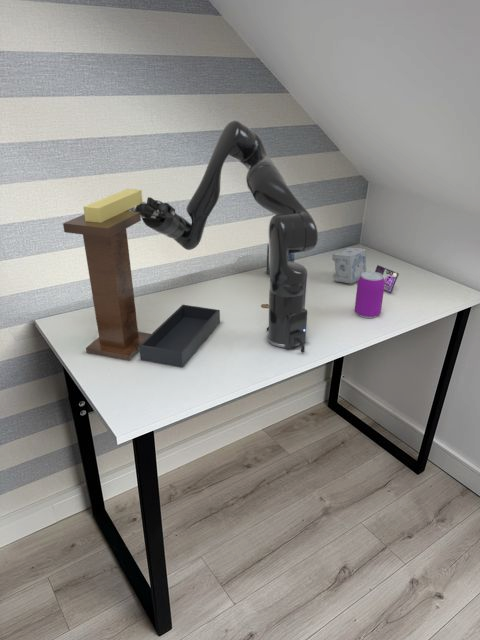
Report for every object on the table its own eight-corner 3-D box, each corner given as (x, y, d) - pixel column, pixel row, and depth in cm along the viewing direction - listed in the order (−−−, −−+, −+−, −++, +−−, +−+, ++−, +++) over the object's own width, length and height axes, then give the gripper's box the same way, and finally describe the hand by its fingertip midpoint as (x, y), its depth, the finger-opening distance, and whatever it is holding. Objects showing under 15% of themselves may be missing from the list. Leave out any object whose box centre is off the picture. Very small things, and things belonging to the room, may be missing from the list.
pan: (183, 317, 146) (182, 304, 144) (220, 323, 144) (219, 309, 142) (140, 360, 125) (138, 345, 123) (182, 367, 123) (181, 352, 121)
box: (275, 278, 174) (276, 248, 169) (266, 273, 178) (266, 243, 173) (293, 274, 178) (295, 244, 173) (284, 269, 182) (285, 239, 177)
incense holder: (345, 273, 180) (348, 244, 174) (366, 279, 175) (369, 249, 170) (329, 280, 173) (332, 250, 168) (350, 287, 168) (354, 256, 163)
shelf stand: (114, 330, 139) (96, 207, 122) (154, 337, 136) (142, 212, 120) (84, 354, 127) (60, 223, 111) (127, 362, 124) (109, 228, 108)
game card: (376, 264, 168) (396, 273, 162) (385, 266, 171) (406, 275, 165) (368, 284, 170) (389, 293, 164) (378, 285, 173) (398, 294, 167)
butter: (129, 201, 128) (127, 188, 127) (142, 203, 127) (141, 189, 126) (85, 221, 112) (83, 206, 111) (100, 223, 111) (98, 208, 110)
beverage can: (377, 321, 146) (382, 282, 141) (351, 316, 149) (355, 277, 143) (383, 311, 153) (388, 273, 147) (357, 306, 155) (362, 268, 149)
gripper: (140, 202, 144) (109, 182, 128) (187, 207, 140) (161, 187, 124) (136, 229, 144) (104, 212, 128) (182, 234, 140) (156, 217, 124)
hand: (132, 199), depth 126 cm, fingers open, 8 cm apart
